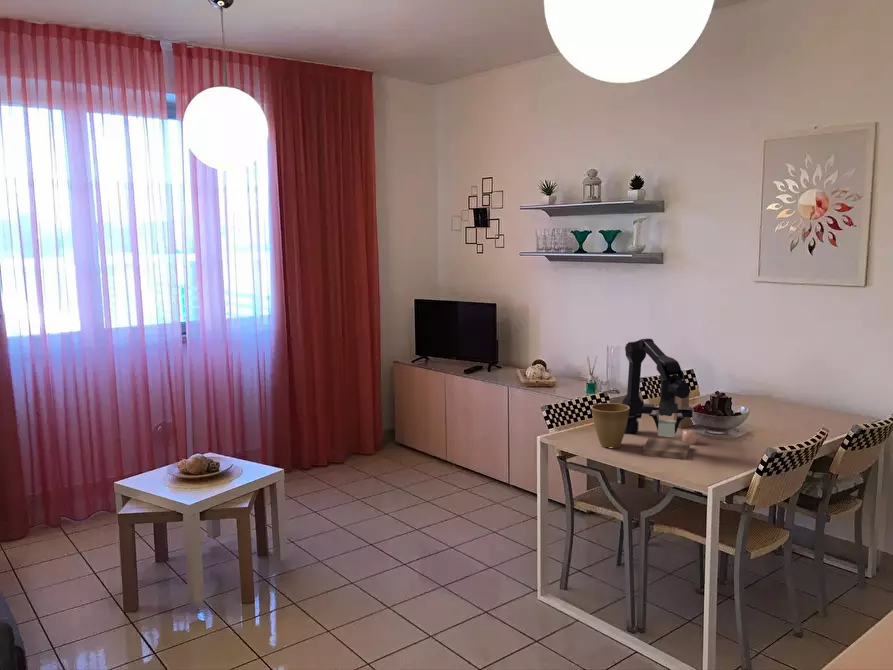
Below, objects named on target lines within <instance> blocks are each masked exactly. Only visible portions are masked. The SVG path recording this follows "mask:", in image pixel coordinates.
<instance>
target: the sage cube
mask: <svg viewBox="0 0 893 670" xmlns="http://www.w3.org/2000/svg"><path fill="white" fill-rule="evenodd" d="M675 426H676V421H674V420H671V419H670V420H669V419H660V418H659V423H658V430H657V436H658V437H664V438H665V437H669V438H675V436H676V435H677V432H676V433H675Z"/></svg>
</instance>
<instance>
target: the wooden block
mask: <svg viewBox="0 0 893 670" xmlns="http://www.w3.org/2000/svg"><path fill="white" fill-rule="evenodd" d="M676 403H678V409H682V408H683V407H690V394H689V395H688V396H687V397H686V398H683V399H682V398H679V397H676ZM677 416H678V414H676V413H673V421H676V420H677ZM689 426H690V427H694V426H693V422H692V420H691V419H690V417H685V419H682V420H681V422H680V423H679V426H678V429H684V428H685V429H686V428H688V427H689ZM690 427H689V428H690Z"/></svg>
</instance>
